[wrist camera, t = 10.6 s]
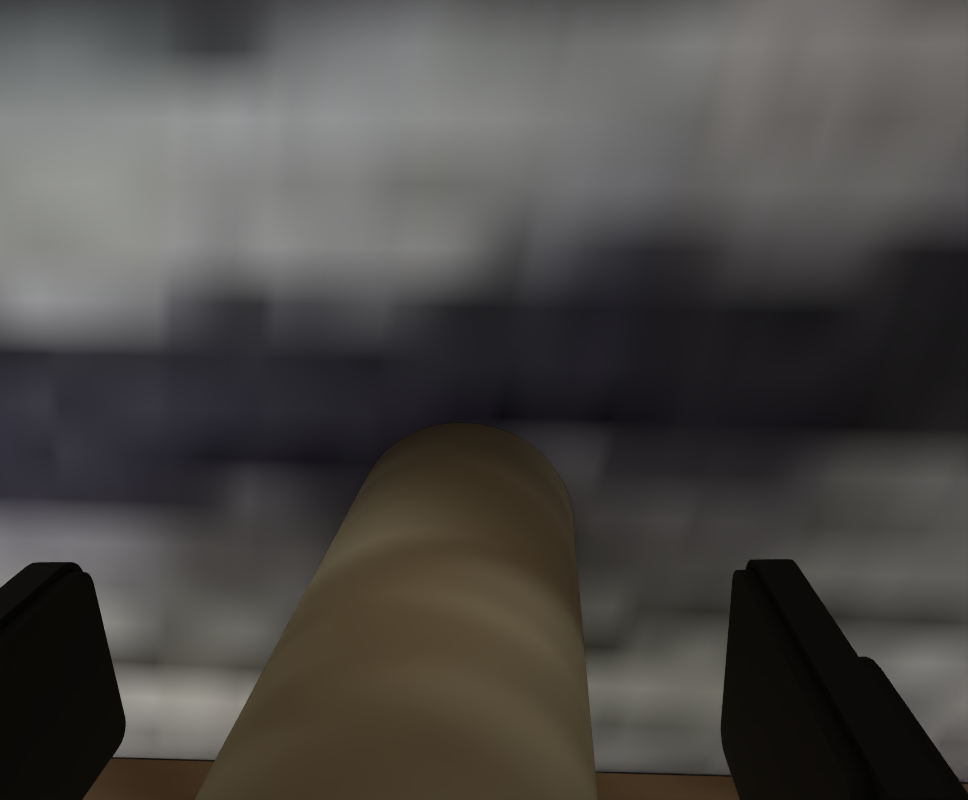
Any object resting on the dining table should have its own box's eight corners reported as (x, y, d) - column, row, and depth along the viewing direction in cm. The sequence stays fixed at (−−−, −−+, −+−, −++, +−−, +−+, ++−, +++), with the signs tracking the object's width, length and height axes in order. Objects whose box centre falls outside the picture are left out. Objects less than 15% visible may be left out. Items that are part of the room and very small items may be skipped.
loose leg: (572, 421, 13) (622, 821, 5) (573, 616, 14) (611, 1166, 6) (348, 424, 13) (80, 801, 5) (368, 614, 14) (174, 1134, 7)
